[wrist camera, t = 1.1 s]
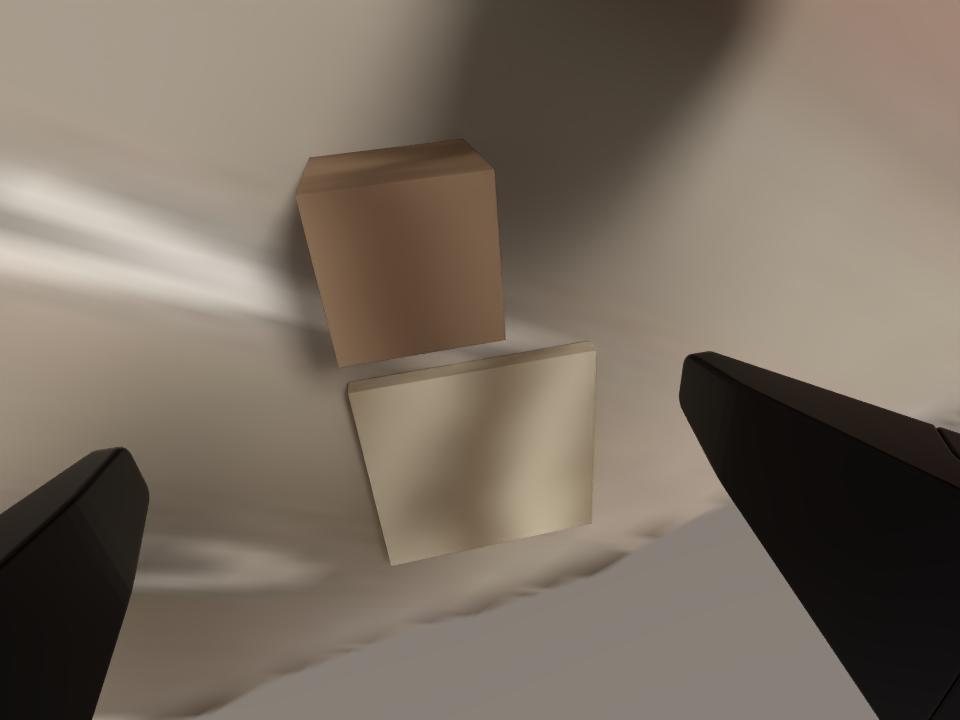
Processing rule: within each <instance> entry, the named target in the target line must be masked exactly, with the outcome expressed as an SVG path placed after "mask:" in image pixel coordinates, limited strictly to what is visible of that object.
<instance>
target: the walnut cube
mask: <svg viewBox="0 0 960 720" xmlns="http://www.w3.org/2000/svg"><path fill="white" fill-rule="evenodd" d="M295 196H296V200H297V204H298V208H299V212H300V216H301V220H302V224H303V228H304V232H305V236H306V240H307V244H308V248H309V252H310V256H311V260H312V264H313V268H314V272H315V276H316V280H317V284H318V288H319V291H320V295H321V299H322V303H323V307H324V311H325V315H326V319H327V323H328V327H329V331H330V335H331V339H332V343H333V347H334V351H335V355H336V359H337V363H338V367H339V368H341V367H347V366H353V365H359V364H365V363H371V362H377V361H383V360H389V359H394V358H400V357H406V356H412V355H418V354H424V353H430V352H436V351H442V350H448V349H454V348H460V347H466V346H472V345H478V344H484V343H490V342H496V341H502V340H506V334H505V319H504V304H503V290H502V275H501V260H500V245H499V231H498V216H497V201H496V186H495V172H494V168H492V167H491V166H490V165H489V164H488V163H487V162H486V161H485V160H484V159H483V158H482V157H481V156H480V155H479V154H478V153H477V152H476V151H475V150H474V149H473V148H472V147H471V146H470V145H469V144H468V143H467V142H466V141H465V140H464V139H458V140H450V141H442V142H434V143H425V144H417V145H409V146H401V147H393V148H385V149H376V150H368V151H360V152H352V153H344V154H335V155H327V156H319V157H311V158H309V160H308V163H307V165H306V168H305V171H304V173H303V176H302V178H301V181H300V184H299V186H298V189H297V192H296V194H295Z"/></svg>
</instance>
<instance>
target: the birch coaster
mask: <svg viewBox="0 0 960 720" xmlns="http://www.w3.org/2000/svg"><path fill="white" fill-rule="evenodd" d="M595 377H596V349H595V348H594V347H593V345H592V344H591V343H590V342H589V341H587V342H581V343H575V344H570V345H564V346H558V347H552V348H546V349H541V350H535V351H529V352H523V353H517V354H512V355H506V356H500V357H494V358H488V359H482V360H477V361H471V362H465V363H459V364H453V365H448V366H442V367H436V368H430V369H424V370H419V371H413V372H407V373H401V374H395V375H389V376H384V377H378V378H372V379H366V380H360V381H355V382H349V383H348V395H349V399H350V403H351V407H352V411H353V415H354V419H355V423H356V427H357V431H358V435H359V439H360V443H361V447H362V451H363V455H364V459H365V463H366V467H367V471H368V475H369V479H370V483H371V487H372V491H373V495H374V499H375V503H376V507H377V511H378V515H379V519H380V523H381V527H382V531H383V535H384V539H385V543H386V547H387V551H388V555H389V559H390V563H391V566H395V565H399V564H404V563H409V562H413V561H418V560H423V559H428V558H432V557H437V556H442V555H446V554H451V553H456V552H460V551H465V550H470V549H475V548H479V547H484V546H489V545H493V544H498V543H503V542H507V541H512V540H517V539H521V538H526V537H531V536H536V535H540V534H545V533H550V532H554V531H559V530H564V529H568V528H573V527H578V526H583V525H587V524H592V491H593V453H594V415H595Z"/></svg>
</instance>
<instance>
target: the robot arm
mask: <svg viewBox="0 0 960 720" xmlns="http://www.w3.org/2000/svg"><path fill="white" fill-rule="evenodd" d="M679 401H680V405H681V408H682V410H683V412H684V414H685V416H686V418H687V420H688V422H689V424H690V426H691V428H692V430H693V432H694V434H695V435H696V437H697V439H698V441H699V443H700V445H701V447H702V449H703V451H704V453H705V455H706V457H707V459H708V460H709V462H710V464H711V466H712V468H713V470H714V472H715V473H716V475H717V477H718V479H719V480H720V482H721V484H722V485H723V487H724V488H725V490H726V491H727V493H728V494H729V496H730V497H731V499H732V500H733V502H734V503H735V505H736V506H737V508H738V509H739V511H740V512H741V514H742V515H743V517H744V518H745V520H746V521H747V523H748V524H749V526H750V527H751V529H752V530H753V532H754V533H755V535H756V536H757V538H758V539H759V541H760V542H761V544H762V545H763V547H764V548H765V549H766V551H767V552H768V554H769V556H770V557H771V558H772V560H773V562H774V563H775V564H776V566H777V567H778V569H779V571H780V572H781V573H782V575H783V576H784V578H785V579H786V581H787V582H788V584H789V585H790V587H791V588H792V590H793V591H794V593H795V594H796V596H797V597H798V599H799V600H800V602H801V603H802V605H803V606H804V608H805V609H806V611H807V612H808V614H809V615H810V617H811V618H812V620H813V621H814V622H815V624H816V626H817V627H818V629H819V630H820V632H821V633H822V635H823V636H824V637H825V639H826V640H827V642H828V644H829V645H830V647H831V648H832V649H833V651H834V653H835V654H836V655H837V657H838V658H839V660H840V662H841V663H842V664H843V666H844V667H845V669H846V670H847V672H848V673H849V675H850V676H851V678H852V679H853V681H854V682H855V684H856V685H857V687H858V688H859V690H860V691H861V693H862V694H863V696H864V697H865V699H866V700H867V702H868V703H869V705H870V706H871V708H872V709H873V711H874V712H875V714H876V715H877V717H878V718H879V720H960V434H959V433H957V432H954V431H951V430H948V429H945V428H942V427H938V428H936V427H935V426H934V425H932V424H929V423H926V422H923V421H920V420H917V419H914V418H911V417H908V416H905V415H902V414H899V413H896V412H893V411H890V410H887V409H884V408H881V407H878V406H875V405H872V404H869V403H866V402H863V401H860V400H857V399H854V398H851V397H848V396H845V395H842V394H839V393H836V392H833V391H830V390H827V389H824V388H821V387H818V386H815V385H812V384H809V383H806V382H803V381H800V380H797V379H793V378H790V377H787V376H784V375H781V374H778V373H775V372H772V371H769V370H766V369H763V368H760V367H757V366H754V365H751V364H748V363H745V362H742V361H739V360H736V359H733V358H730V357H727V356H724V355H721V354H718V353H715V352H712V351H706V352H700V353H694V354H690V355H688V356H687V357H686V358H685V360H684V363H683V370H682V377H681V384H680V391H679ZM148 505H149V490H148V487H147V484H146V482H145V480H144V478H143V476H142V475H141V473H140V471H139V469H138V467H137V465H136V463H135V461H134V459H133V457H132V455H131V453H130V452H129V451H128V450H127V449H126V448H123V447H115V448H108V449H102V450H96V451H93V452H91V453H90V454H88V455H87V456H85V457H84V458H82V459H81V460H79V461H78V462H76V463H75V464H74V465H72V466H71V467H69V468H68V469H66V470H65V471H63V472H62V473H60V474H59V475H57V476H56V477H54V478H53V479H51V480H50V481H49V482H47V483H46V484H44V485H43V486H41V487H40V488H38V489H37V490H35V491H34V492H32V493H31V494H29V495H28V496H26V497H25V498H24V499H22V500H21V501H19V502H18V503H16V504H15V505H13V506H12V507H10V508H9V509H7V510H6V511H4V512H3V513H1V514H0V720H92V718H93V715H94V712H95V709H96V705H97V702H98V699H99V696H100V693H101V690H102V686H103V683H104V680H105V677H106V674H107V670H108V667H109V664H110V661H111V658H112V655H113V651H114V648H115V645H116V642H117V639H118V635H119V632H120V629H121V626H122V623H123V619H124V616H125V613H126V610H127V607H128V603H129V600H130V596H131V593H132V588H133V584H134V579H135V574H136V569H137V564H138V558H139V553H140V548H141V542H142V537H143V532H144V526H145V521H146V516H147V511H148Z"/></svg>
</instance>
